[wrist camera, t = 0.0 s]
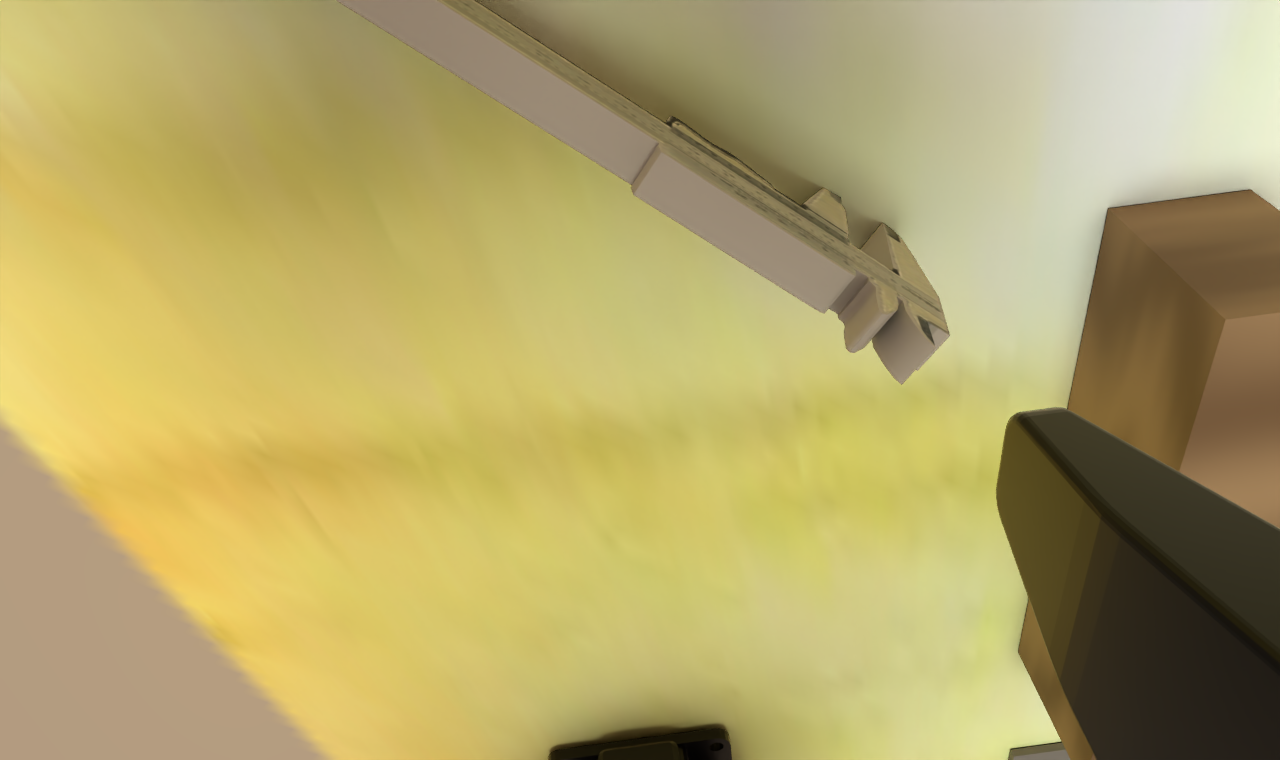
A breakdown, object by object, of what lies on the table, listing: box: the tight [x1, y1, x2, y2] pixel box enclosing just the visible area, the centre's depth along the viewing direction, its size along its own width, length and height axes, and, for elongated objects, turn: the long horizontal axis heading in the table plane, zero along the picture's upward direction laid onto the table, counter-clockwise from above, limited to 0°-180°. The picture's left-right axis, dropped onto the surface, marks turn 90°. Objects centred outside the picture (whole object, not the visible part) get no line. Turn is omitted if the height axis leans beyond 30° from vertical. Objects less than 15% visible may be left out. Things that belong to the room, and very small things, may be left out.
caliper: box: [337, 0, 950, 385], centre depth 18 cm, size 20×1×6 cm, turn 58°
